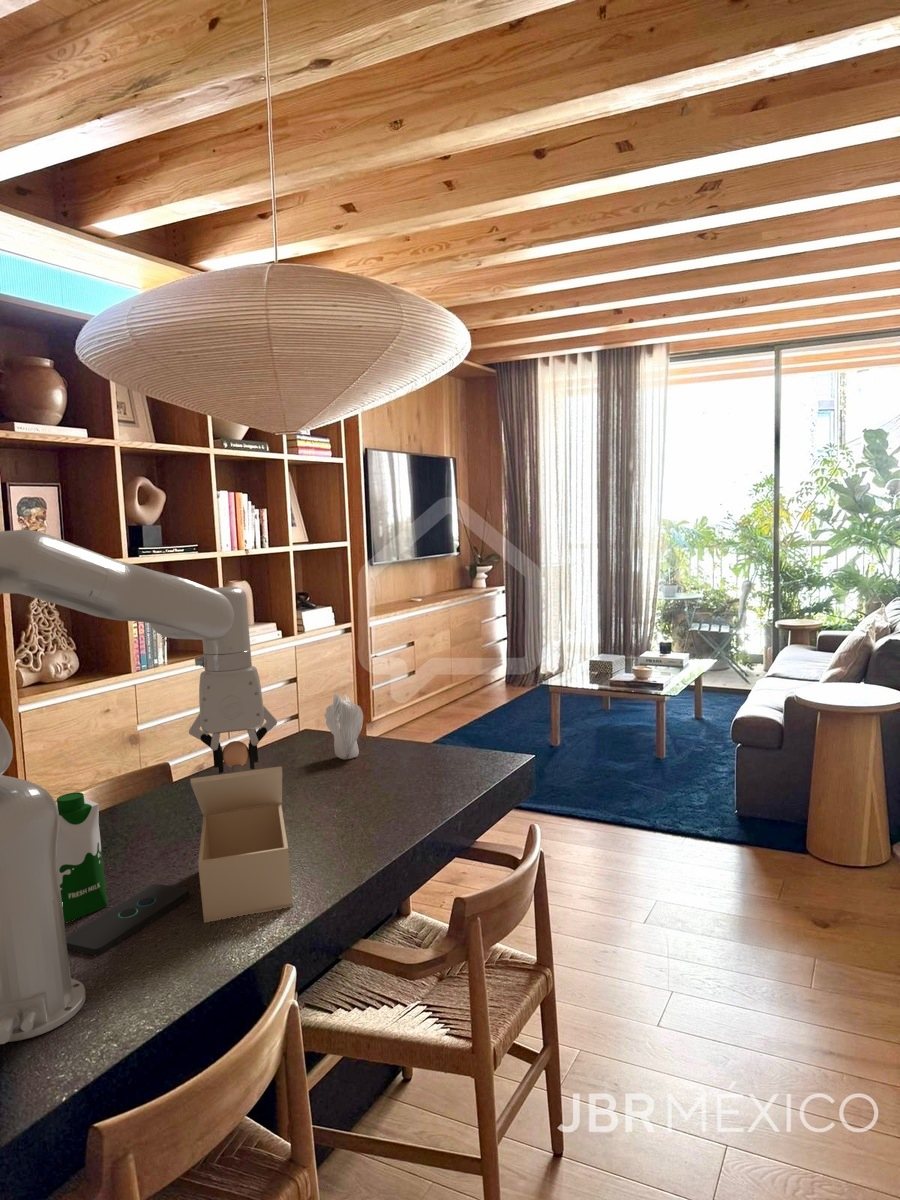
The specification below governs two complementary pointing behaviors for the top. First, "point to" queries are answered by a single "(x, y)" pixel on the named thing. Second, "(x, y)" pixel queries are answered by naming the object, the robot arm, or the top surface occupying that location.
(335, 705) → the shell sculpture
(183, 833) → the top surface
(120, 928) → the smart home device
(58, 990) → the robot arm
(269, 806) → the carton
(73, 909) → the milk carton
